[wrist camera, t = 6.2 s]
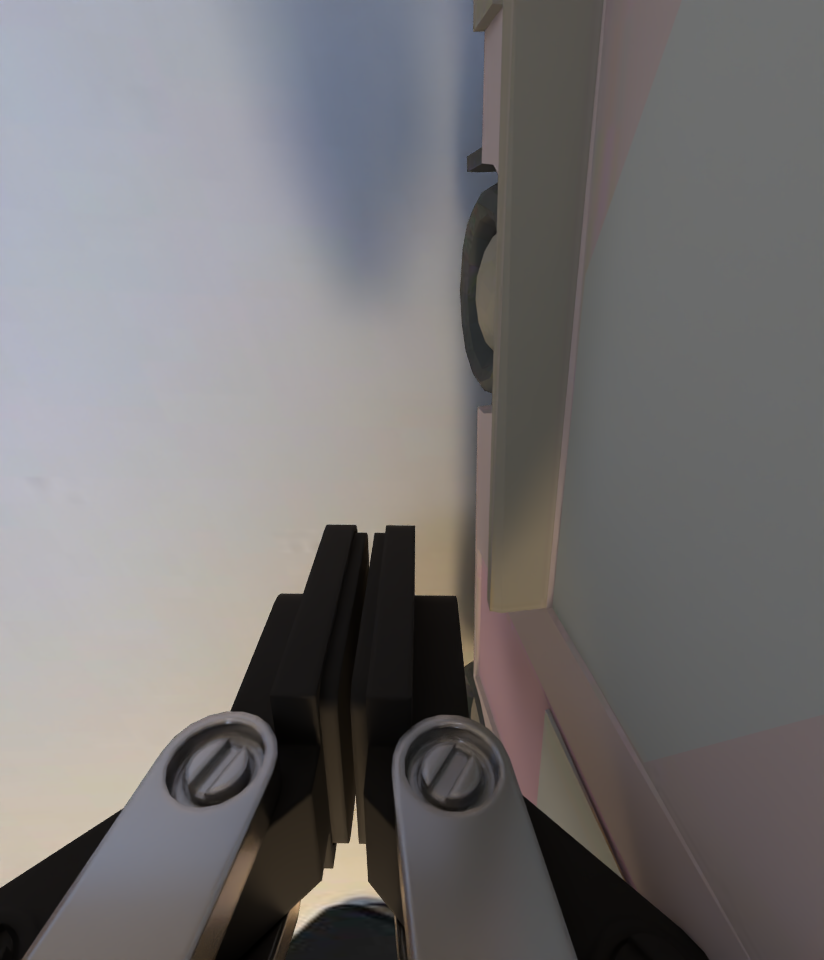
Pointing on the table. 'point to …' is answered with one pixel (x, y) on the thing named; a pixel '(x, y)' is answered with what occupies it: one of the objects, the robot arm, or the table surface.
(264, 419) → the table surface
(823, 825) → the toy vehicle
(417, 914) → the robot arm
